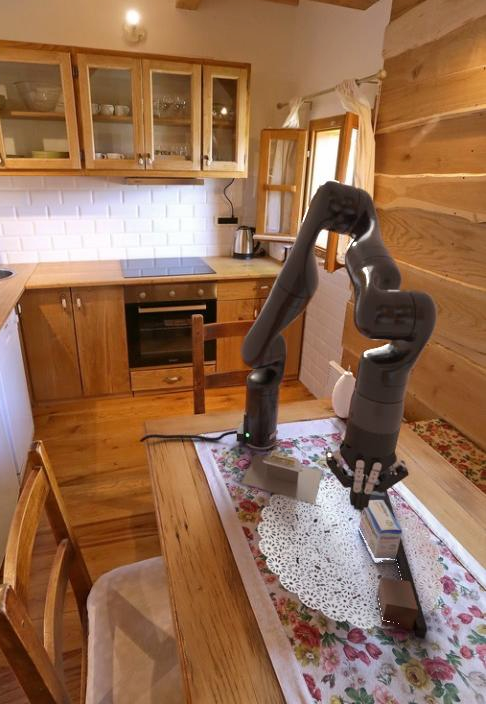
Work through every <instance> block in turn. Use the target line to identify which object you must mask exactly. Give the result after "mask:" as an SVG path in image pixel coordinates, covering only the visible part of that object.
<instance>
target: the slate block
mask: <svg viewBox="0 0 486 704" xmlns="http://www.w3.org/2000/svg"><path fill="white" fill-rule="evenodd" d="M384 499H385V494H384V492H383V493H379V492H377V491H374V492H372V493H371V495H370V500H384ZM359 511H361V512H362V510H359Z"/></svg>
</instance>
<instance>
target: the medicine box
mask: <svg viewBox="0 0 486 704" xmlns="http://www.w3.org/2000/svg"><path fill="white" fill-rule="evenodd" d="M395 519H396V517H395V518H394V517H393V515H392V513H391V512H390V510H389V509H388V507H387V505H386V504H385V502H384V500H369V505H368V507H367V508H364V510H363V511H361V515H360V521H359V525H358V530H357V531H358V534H359V536H360V538H361V540H362V542H363V543H364V539H363V537H362V535H361V533H360V531H359V528H360V530H361V532H362V534H363V536H364V538H365V540H366V541H367V543H368V546H369V547H370V549H371V551H372V553H373V555H374V557H375V558H391V559H396V555H397V551H398V547H399V542H400V538H401V539H402V534H403V530H402V528H401V526H400V525H399V523H398V522H397V519H396V520H395ZM365 545H366V543H365V544H364V546H365ZM366 546H367V545H366ZM366 546H365V547H366ZM366 550H367V551H368V549H367V548H366ZM382 561H383V563H382V564H394V563H395V560H382ZM380 562H381V561H380Z"/></svg>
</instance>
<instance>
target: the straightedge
mask: <svg viewBox="0 0 486 704" xmlns="http://www.w3.org/2000/svg"><path fill="white" fill-rule="evenodd" d="M384 494H385V499H384V502H385V504H386V505H387V507H388V509H389V510H390V512H391V513H392V515H393V517H394V518H395V520H396V521H397V519H396V515H395V512H394V509H393V506H392V502H391V499H390V495H389V493H388V489H387V490H386V491H384ZM396 559H397V561H396ZM396 559H395V562H394V563H395V567H396V571H397V574H398V580H401V578H402V580H403V581H409V582H410V583H411V586H412V590H413V594H414V597H415V601H416V604H417V608H418V612H417V616H416V619H415V623H414V627H413V630H412V632H413V636H414V638H419V639H425V638H426V635H427V631H428V626H427V622H426V618H425V616H424V612H423V609H422V605H421V602H420V599H419V595H418V590H417V588H416V585H415V582H414V578H413V575H412V571H411V568H410V564H409V561H408V557H407V554H406V551H405V547H404V544H403V541H402V537H401V538H400V542H399V547H398V551H397V555H396ZM397 563H398V564H397ZM398 566H399V568H398ZM399 571H400V572H399ZM400 574H401V576H400Z"/></svg>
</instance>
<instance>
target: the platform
mask: <svg viewBox="0 0 486 704" xmlns="http://www.w3.org/2000/svg"><path fill="white" fill-rule="evenodd" d="M322 474H323V471H321V470H317V469H313V468H310V467H306V466H304V465H303V464H302V463H301V461H300V460H299V459H298V458H296V457H295V455H292V454H290V453H284V452H280V451H277V450H272V452H269V453H268V454H267V455H265V456H264V455H260V454H256V453H254V456H253V458H252V460H251V462H250V464H249V465H248V468H247V469H246V472H245V475H244V476H243V479H242V480H241V484H243V485H246V486H249V487H253V488H257V489H260V490H263V491H266V492H270V493H274V494H278V495H281V496H284V497H288V498H291V499H294V500H298V501H302V502H304V503H309V504H312V503H313V505H315V504H316V502H315V501H317V497H318V493H319V488H320V484H321V479H322ZM314 503H315V504H314Z"/></svg>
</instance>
